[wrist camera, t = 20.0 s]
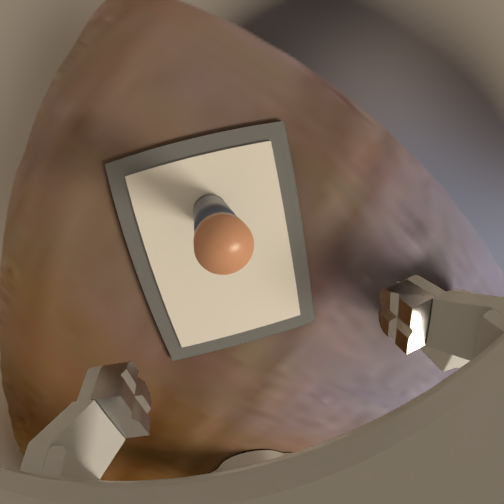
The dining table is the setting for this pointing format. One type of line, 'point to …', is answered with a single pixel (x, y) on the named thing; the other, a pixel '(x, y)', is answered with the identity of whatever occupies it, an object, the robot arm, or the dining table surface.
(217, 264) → the marker
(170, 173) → the mat
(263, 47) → the dining table surface
